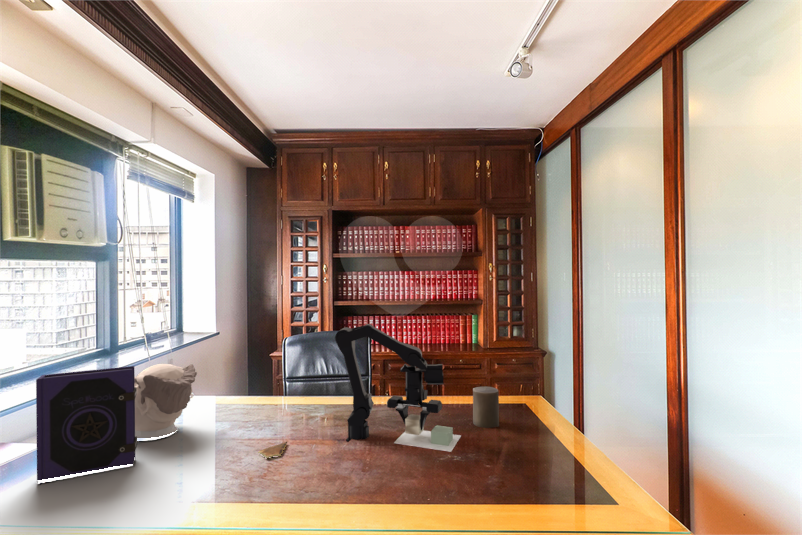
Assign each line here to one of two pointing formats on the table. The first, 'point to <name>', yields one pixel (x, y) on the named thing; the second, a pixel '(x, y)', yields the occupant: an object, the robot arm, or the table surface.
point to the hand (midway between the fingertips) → (414, 428)
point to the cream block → (413, 425)
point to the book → (85, 421)
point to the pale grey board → (425, 441)
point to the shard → (273, 450)
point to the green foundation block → (442, 435)
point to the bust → (161, 398)
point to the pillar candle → (486, 407)
